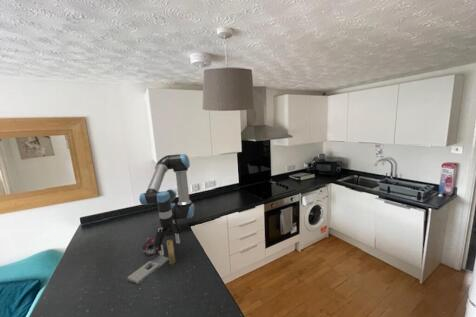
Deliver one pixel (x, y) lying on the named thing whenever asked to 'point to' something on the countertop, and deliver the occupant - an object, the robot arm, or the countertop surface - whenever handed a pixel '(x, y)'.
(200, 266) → the countertop surface
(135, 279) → the light grey flat block
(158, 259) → the lower link
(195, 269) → the countertop surface
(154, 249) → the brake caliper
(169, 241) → the pin
